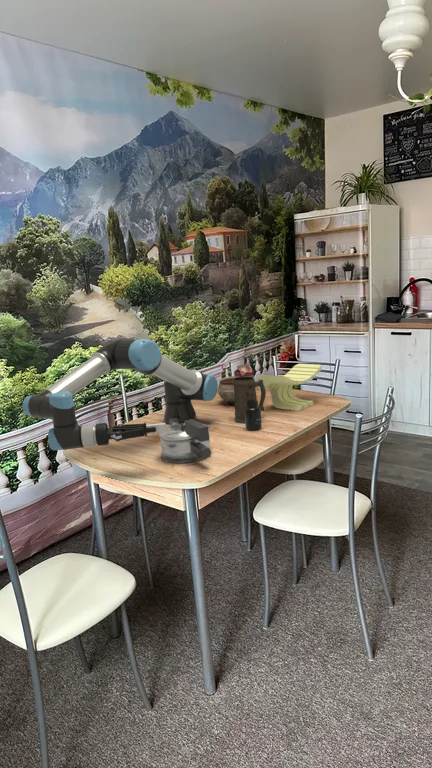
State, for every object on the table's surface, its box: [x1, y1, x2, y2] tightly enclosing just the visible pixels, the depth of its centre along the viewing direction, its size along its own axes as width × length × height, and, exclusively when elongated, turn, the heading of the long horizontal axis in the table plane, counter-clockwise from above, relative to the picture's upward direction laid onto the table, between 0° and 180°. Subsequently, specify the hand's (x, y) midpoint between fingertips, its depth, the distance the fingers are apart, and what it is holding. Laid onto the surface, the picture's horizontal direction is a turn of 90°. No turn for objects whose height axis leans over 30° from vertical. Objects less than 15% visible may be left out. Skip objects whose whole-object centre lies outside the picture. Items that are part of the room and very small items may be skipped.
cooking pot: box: [217, 375, 235, 405], centre depth 276 cm, size 25×19×12 cm
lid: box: [158, 418, 211, 442], centre depth 196 cm, size 30×19×6 cm, turn 27°
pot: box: [159, 437, 212, 464], centre depth 197 cm, size 31×18×8 cm, turn 26°
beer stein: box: [233, 377, 267, 424], centre depth 241 cm, size 15×10×20 cm
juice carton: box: [233, 363, 255, 379], centre depth 260 cm, size 7×7×22 cm
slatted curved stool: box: [257, 363, 322, 411], centre depth 259 cm, size 30×16×18 cm, turn 138°
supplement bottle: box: [244, 399, 262, 432], centre depth 226 cm, size 7×7×12 cm
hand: (165, 427), depth 185 cm, fingers closed
